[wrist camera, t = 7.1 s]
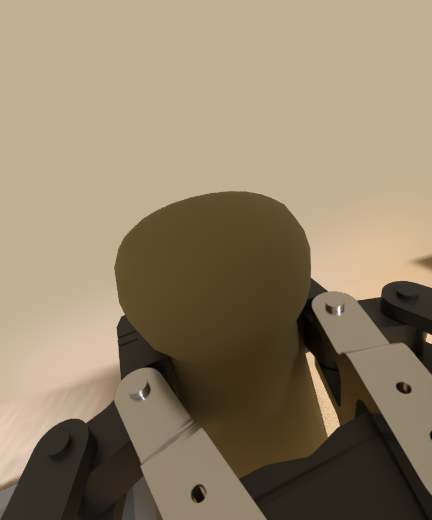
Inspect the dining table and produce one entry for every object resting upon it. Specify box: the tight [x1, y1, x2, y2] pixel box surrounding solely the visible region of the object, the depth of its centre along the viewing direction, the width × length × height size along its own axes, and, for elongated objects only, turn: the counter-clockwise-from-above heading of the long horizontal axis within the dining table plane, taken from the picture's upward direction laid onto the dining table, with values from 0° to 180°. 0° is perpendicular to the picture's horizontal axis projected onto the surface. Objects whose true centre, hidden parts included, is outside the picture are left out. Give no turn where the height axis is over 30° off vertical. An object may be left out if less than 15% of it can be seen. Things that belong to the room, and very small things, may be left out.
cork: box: [114, 191, 328, 479], centre depth 10 cm, size 6×6×11 cm
